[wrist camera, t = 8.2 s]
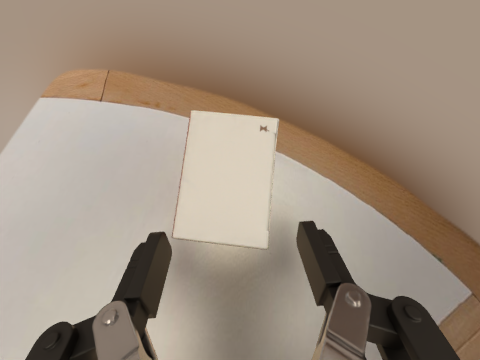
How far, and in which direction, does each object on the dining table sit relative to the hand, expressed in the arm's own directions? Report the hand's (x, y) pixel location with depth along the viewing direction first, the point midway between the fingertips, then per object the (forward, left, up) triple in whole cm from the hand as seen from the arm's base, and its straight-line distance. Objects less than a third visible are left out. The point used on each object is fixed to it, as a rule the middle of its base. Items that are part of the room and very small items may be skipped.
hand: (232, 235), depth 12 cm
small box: (0, -4, -10) cm, 10 cm away
